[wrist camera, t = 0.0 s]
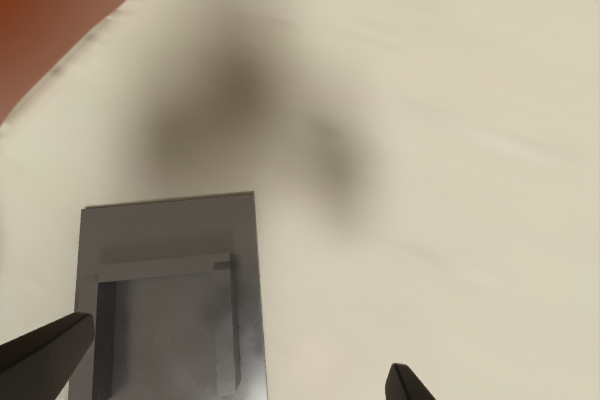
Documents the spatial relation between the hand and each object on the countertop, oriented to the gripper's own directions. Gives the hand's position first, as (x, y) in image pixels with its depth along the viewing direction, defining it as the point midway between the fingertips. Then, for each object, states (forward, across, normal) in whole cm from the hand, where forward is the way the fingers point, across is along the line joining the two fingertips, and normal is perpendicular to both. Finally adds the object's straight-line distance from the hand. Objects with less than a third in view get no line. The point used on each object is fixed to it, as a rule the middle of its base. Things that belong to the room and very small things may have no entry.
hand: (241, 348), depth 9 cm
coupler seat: (+12, +8, +9) cm, 17 cm away
